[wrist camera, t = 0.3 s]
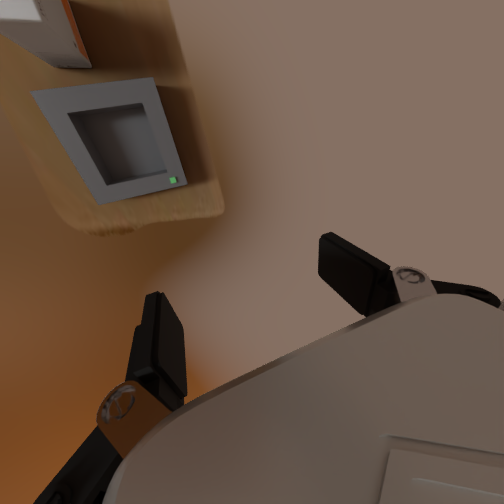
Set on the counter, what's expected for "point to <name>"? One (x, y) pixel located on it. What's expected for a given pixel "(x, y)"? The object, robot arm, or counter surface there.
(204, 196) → the counter surface
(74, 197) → the counter surface
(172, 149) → the port block
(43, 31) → the skincare box
